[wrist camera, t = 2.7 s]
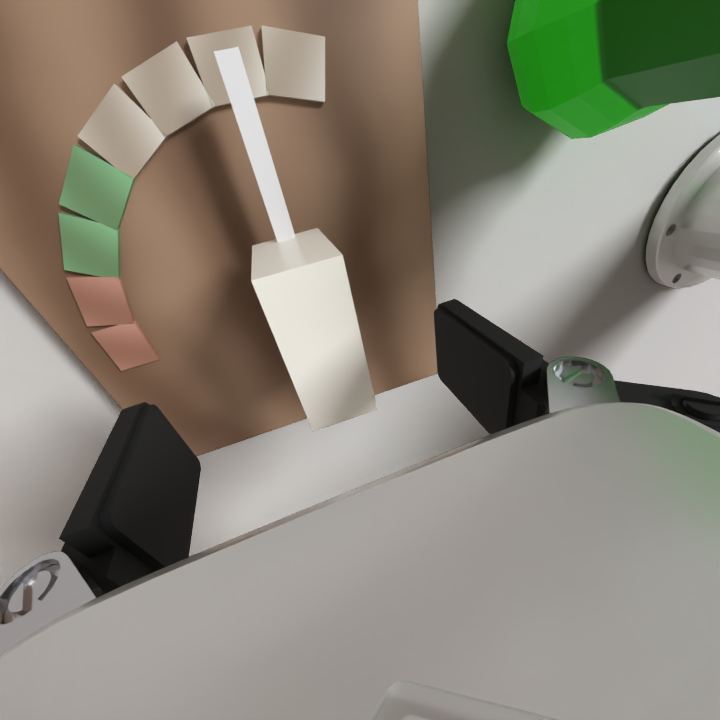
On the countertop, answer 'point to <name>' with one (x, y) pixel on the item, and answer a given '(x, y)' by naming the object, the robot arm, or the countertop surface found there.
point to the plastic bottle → (612, 59)
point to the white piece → (301, 284)
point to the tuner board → (212, 191)
